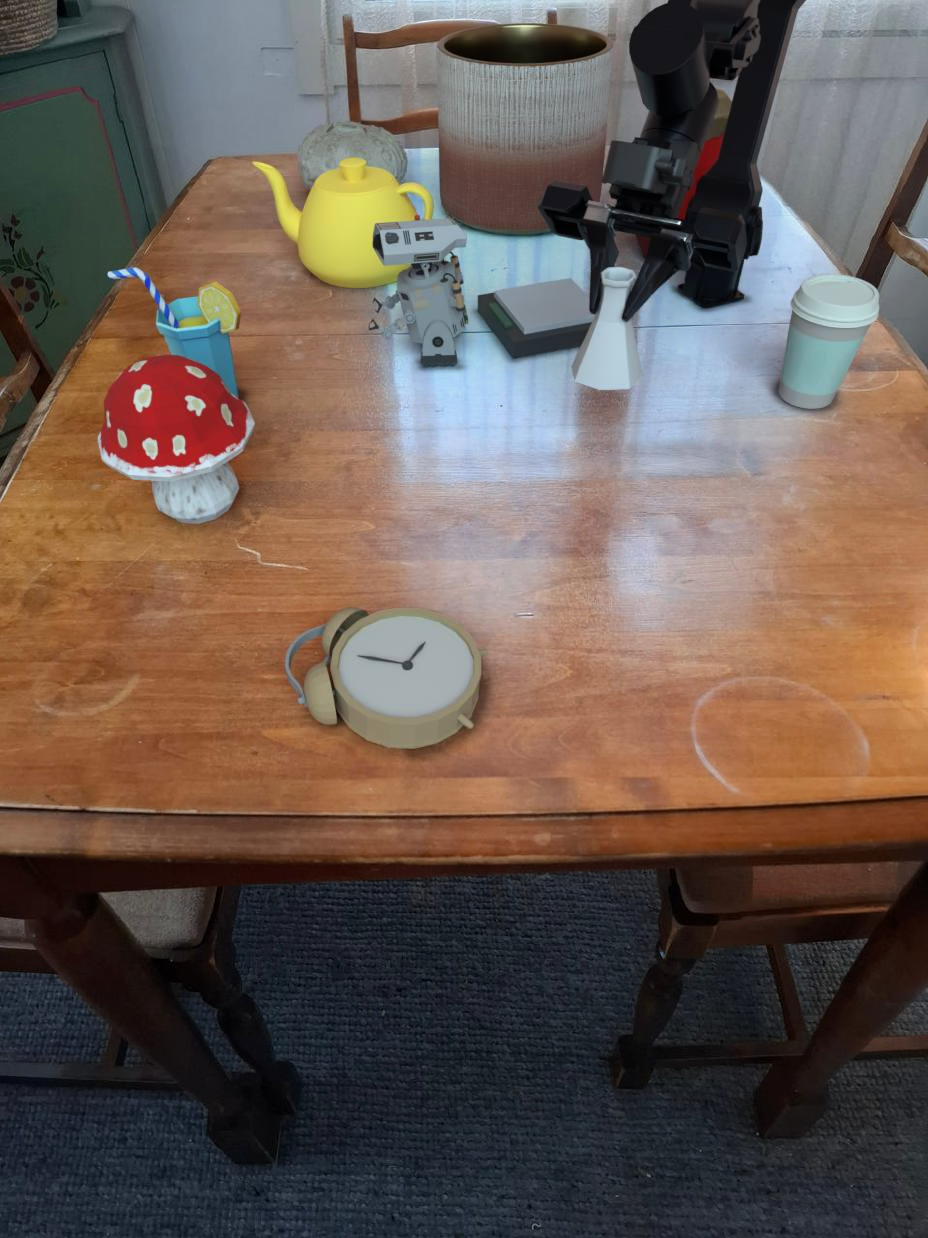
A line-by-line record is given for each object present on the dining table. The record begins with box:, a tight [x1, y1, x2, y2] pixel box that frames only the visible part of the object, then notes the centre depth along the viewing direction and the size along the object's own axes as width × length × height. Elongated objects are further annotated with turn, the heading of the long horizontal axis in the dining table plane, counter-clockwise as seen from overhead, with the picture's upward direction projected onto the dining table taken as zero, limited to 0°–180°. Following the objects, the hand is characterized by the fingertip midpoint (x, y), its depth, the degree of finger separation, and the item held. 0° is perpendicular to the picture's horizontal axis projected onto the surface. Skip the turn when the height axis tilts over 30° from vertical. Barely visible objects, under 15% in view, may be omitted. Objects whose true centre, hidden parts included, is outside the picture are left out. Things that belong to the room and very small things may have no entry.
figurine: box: [368, 214, 469, 368], centre depth 92 cm, size 9×12×15 cm
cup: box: [107, 266, 242, 399], centre depth 85 cm, size 14×8×15 cm, turn 80°
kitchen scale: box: [477, 277, 597, 360], centre depth 100 cm, size 13×13×3 cm
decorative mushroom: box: [97, 354, 256, 525], centre depth 72 cm, size 14×14×15 cm
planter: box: [435, 22, 615, 236], centre depth 120 cm, size 25×25×22 cm
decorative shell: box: [296, 119, 409, 192], centre depth 130 cm, size 18×18×10 cm
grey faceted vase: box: [570, 266, 644, 391], centre depth 76 cm, size 7×7×10 cm
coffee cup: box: [778, 273, 880, 410], centre depth 85 cm, size 8×8×12 cm
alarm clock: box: [284, 606, 489, 750], centre depth 61 cm, size 11×5×15 cm
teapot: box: [251, 157, 435, 289], centre depth 109 cm, size 25×18×14 cm
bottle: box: [634, 87, 732, 260], centre depth 108 cm, size 16×14×20 cm
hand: (607, 316), depth 74 cm, fingers closed on grey faceted vase, 3 cm apart
